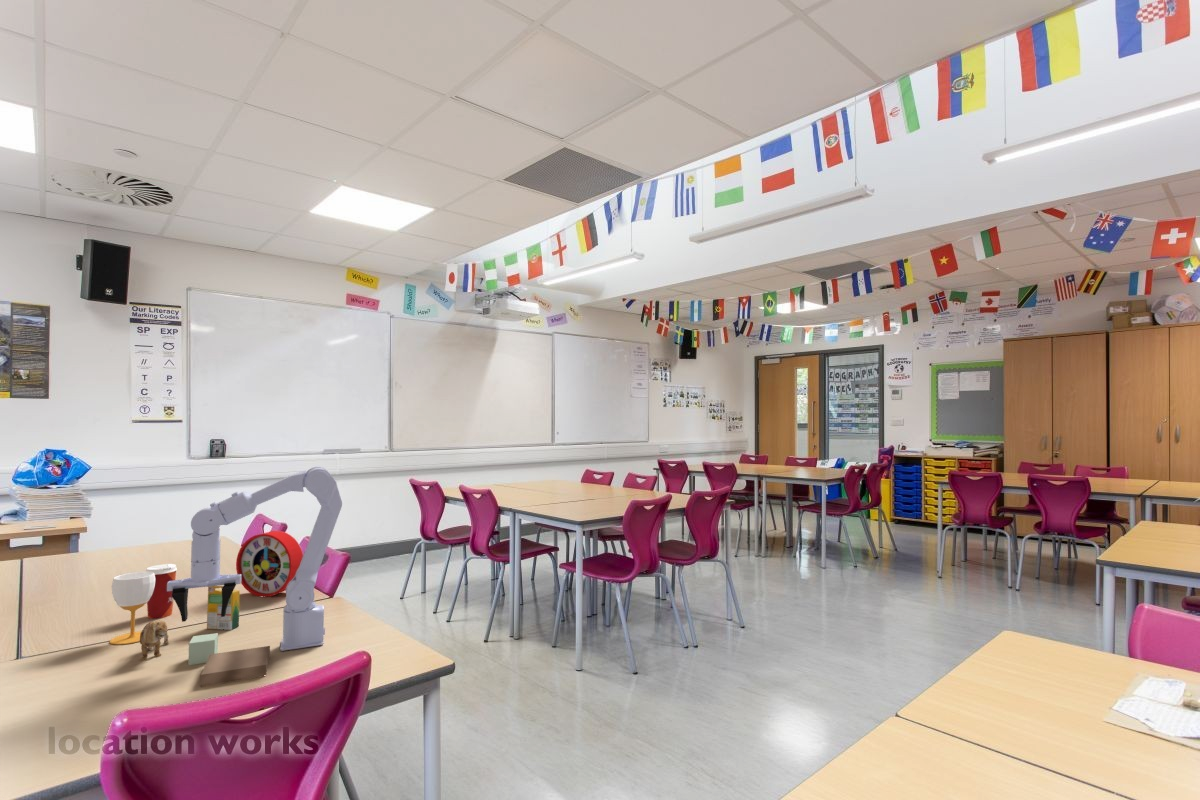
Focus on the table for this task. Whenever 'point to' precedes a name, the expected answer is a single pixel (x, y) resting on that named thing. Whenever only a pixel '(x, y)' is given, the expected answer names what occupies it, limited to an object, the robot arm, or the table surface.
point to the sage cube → (202, 648)
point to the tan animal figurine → (153, 637)
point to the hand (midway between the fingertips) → (204, 617)
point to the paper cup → (161, 591)
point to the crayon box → (215, 609)
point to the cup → (132, 599)
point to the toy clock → (268, 562)
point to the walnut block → (235, 666)
